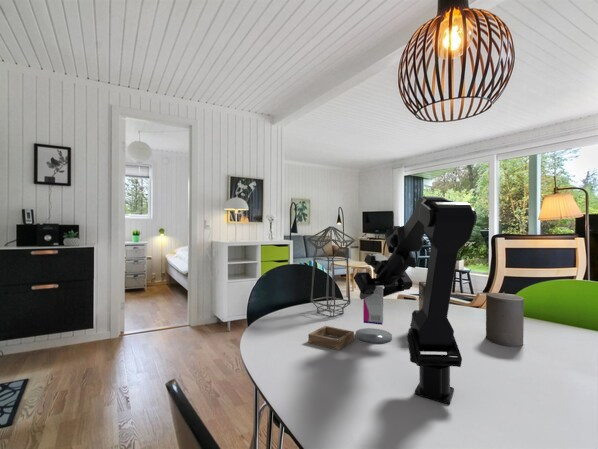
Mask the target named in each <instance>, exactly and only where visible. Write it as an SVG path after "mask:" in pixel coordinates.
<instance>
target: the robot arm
mask: <svg viewBox="0 0 598 449" xmlns="http://www.w3.org/2000/svg"><path fill="white" fill-rule="evenodd" d="M477 218H478V215H477V211H476V210H475V209H474V208H473V207H472V206H471V203H468V201H467V202H465V201H464V202H461V201H455V200H452V199H451V200H450V199H448V198H446V197H443V196H440V195H439V196H429V195H428V196H425V195H424V196H422V197H419V198H418V199H417V203H416V207H415V208H414V210H413V212H412V214H411V215H410V217H409V218H408V219H407V221H406V223H405V224H404V225H402V226H400V225H392V228H390V229H388V230H387V231H385V233H384V235H383V236H384V240H385V243H386V246H387V250H388V252H389V254H390V255H389V257H387V256H385V255H384V254H382V253H377V252H375V253H368V254H367V255H365V257H364V263H365V264H367V265H368V266H371V267H372V268H373V273H374V275H376V277H372V275H371V274H370V272H368V271H362V272H361V271H360V272H356V273H355V275H354V276H353V280H354V282H355V284H356V286H357V288H358V290H359V299H360V300H364V298H366V297H368V296H370V295H372V294H374V291H375V289H376V286H383V298H385V297H388V296H391V295H394V294H397V293H401V292H404V291H408V290H411V288H412V287H413V281H412V279H411V278H410V277H411V276H409V274H408V273H407V272H406V271H407V270H408V268H413V269H416V267H417V265H416V264H417V263H416V257H414V254H413V252H415V253H416V252H417V253H418V252H420V250H422V247H423V246H424V244H425V243H424V236H425V235H426V237H427V240H428V241H429V243H430V249H429V250H430V251H429V257H428V264H427V271H426V279H425V282H426V284H425V292H424V299H423V306H422V309H421V310H419V309H417V310H416V309H415V310H413V311H412V313H411V321H410V325H409V326H410V328H408V332H407V336H406V338H407V339H406V340H407V344H408V350H409V351H408V352H409V361H410V362H411V363H413V364H416V366H417V367H419V382H418V384H417V386H416V388H415V389H414V394H415V395H416V396H421V397H423V398H427V399H430V400H434V401H437V402H441V403H444V404H446V405H447V404H451V402H452V398H453V395H454V392H455V387H453V386H451V367H457V368H461V366H462V362H463V358H462V354H461V352H460V348H459V347H458V343H457V341H456V338H455V335H454V332H455V330H454V328H453V326H452V324H451V322H450V321H449V319H448V315H449V308H450V303H451V297H452V291H453V285H454V279H455V274H456V273H455V272H456V268H457V261H458V255H459V251H460V250H461V249H462V248H463V247H464V246H465V245H466V244H467V242H469V241H470V239H471V238H472V235H473V232H474V231H473V230H474V228H475V225H476V224H477V221H478V220H477ZM421 352H422V353H421ZM423 352H424V353H423ZM425 352H427V353H428V354H427V353H425ZM431 352H432V354H431ZM433 353H446V354H433Z"/></svg>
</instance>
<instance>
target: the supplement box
mask: <svg viewBox="0 0 598 449" xmlns="http://www.w3.org/2000/svg"><path fill="white" fill-rule="evenodd" d="M383 289H384V286H376V289H375V291H374V294H372V295H370V296H368V297H366V298H364V299H363V307H362V308H363V314H362V315H363V316H362V317H363V318H362V319H363V324H372V325H381V326H382V325H383V323H384V297H383Z"/></svg>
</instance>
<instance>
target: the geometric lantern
mask: <svg viewBox="0 0 598 449" xmlns="http://www.w3.org/2000/svg"><path fill="white" fill-rule="evenodd" d="M321 233H322V234H321ZM341 234H342V235H343V236H345V237H348V238H349V239H345V238H344V237H343V236H342V235H341ZM318 235H319V237H318V238H317V239H312V238H315V237H316V236H318ZM333 236H334V239H333ZM326 237H327V238H326ZM341 239H342V240H341ZM306 241H308V242H309V243H310V244H311V245H312V246H313V247H314V248H315V250H314V253H313V257H312V276H311V277H312V278H311V293H310V301H309V302H310V303H312V304H313V305H314V306H315V307H316V313H317V314H319V315H323V316H325V315H326V317H329V318H334V317H337V316H340V315H343V314H344V313H345V312H344V309H346V308H347V307H348V306H350V305H351V303H352V302H351V289H350V275H349V274H350V273H349V272H350V271H349V270H350V269H349V260H350V259H349V256H348V255H349V254H348V247H350V246H351V245H352V244H353V243H355V242H357V239H355V238H353V237H351V236H350V235H348V234H346V233H345V232H343V231H342V230H340V229H338V228H336V226H328V227H326V228H324V229H322V230H321V231H319V232H318V233H316V234H314V235H312V236H310V237H308V238H306ZM330 242H332V243H334V244H335V245H336V246H337V247H338V248H337V249H336V251H335V253H334V254H333V256H332V257H330V256H329V255H328V254H327V252H326V251H325V249H324V247H325V246H327V245H329V243H330ZM339 243H340V245H339ZM343 244H345V246H343ZM319 249H320V250H322V252H323V254H324V255H325V257H317V253H318V250H319ZM339 251H343V253H344V258H341V257H335V256H336V255H337V253H338V252H339ZM317 260H318V261H326V262H327V269H326V270H327V273H326V274H327V275H326V290H325V296H322V297H319V298H313V294H314V281H315V271H316V261H317ZM342 261H343V262H344V261H345V262H346V276H347V279H346V280H347V299H343V298H341V297H340V298H339V297H336V291H335V287H336V286H335V262H342ZM330 262H331V271H332V272H331V278H332V279H331V296H329V291H330V290H329V287H330V281H329V280H330ZM323 299H326V304H324V303H321V302H318V300H323ZM329 299H330V302H329ZM336 300H339V301H343V303H337V304H336ZM332 302H333V304H332ZM316 304H317V305H320V306H317V305H316ZM324 307H326V308H324ZM332 307H333V308H332ZM335 308H337V309H335ZM319 309H320V310H319ZM323 311H327V312H330V313H329V314H330V315H329V314H325V313H321V312H323ZM335 312H340V313H337V314H335Z"/></svg>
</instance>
